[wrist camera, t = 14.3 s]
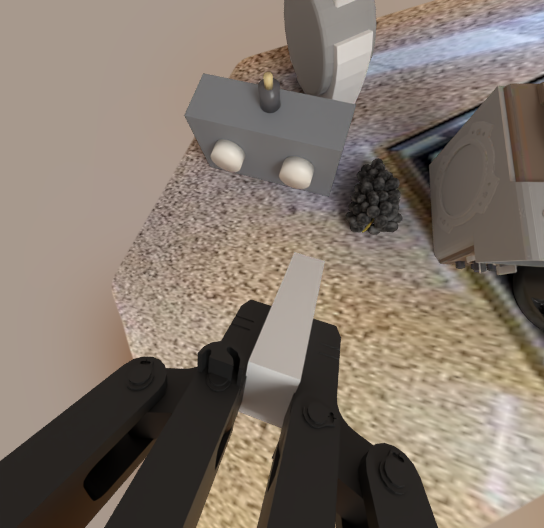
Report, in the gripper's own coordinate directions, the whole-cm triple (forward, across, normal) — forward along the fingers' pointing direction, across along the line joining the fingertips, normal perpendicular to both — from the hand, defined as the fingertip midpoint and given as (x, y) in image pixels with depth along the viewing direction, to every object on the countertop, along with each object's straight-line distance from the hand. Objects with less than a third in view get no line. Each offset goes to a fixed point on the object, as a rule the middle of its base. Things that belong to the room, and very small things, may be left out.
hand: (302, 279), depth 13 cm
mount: (+41, -12, -4) cm, 43 cm away
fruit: (+39, +8, -7) cm, 40 cm away
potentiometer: (+33, -12, +6) cm, 35 cm away
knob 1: (+36, -18, -3) cm, 40 cm away
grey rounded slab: (+54, -8, +8) cm, 55 cm away
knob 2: (+36, -6, -3) cm, 37 cm away
